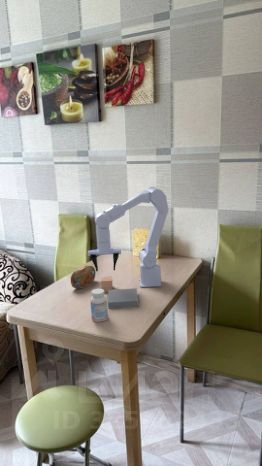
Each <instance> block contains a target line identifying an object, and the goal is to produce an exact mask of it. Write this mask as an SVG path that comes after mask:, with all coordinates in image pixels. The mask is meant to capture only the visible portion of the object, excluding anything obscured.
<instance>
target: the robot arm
mask: <svg viewBox="0 0 262 466" xmlns="http://www.w3.org/2000/svg"><path fill="white" fill-rule="evenodd" d="M143 203H144V204H145V203H146V204H152V205H153V208H154V209H155V212H154V216H153V219H152V222H151V226H150V229H149V231H148V236H147V238H146V242H145V243H144V245H143V246H142V249H141V250H140V251H139V252H138V258H139V260H140V264H139V274H140V275H139V276H140V277H139V278H140V279H139V280H138V281H139V286H140V288H149V287H150V288H151V287H152V288H153V287H154V288H155V287H162V271H161V264H157V255H158V245H159V241H160V238H161V234H162V232H163V229H164V226H165V223H166V219H167V216H168V212H169V206H168V201H167V195H166V194H165V192H164V191H163V190H161V189H160V188H159V189H158V188H157V187H156V186H151V187H148V188H147V189H144V190H141V192H139V193H138V194H136V195H134V196H133V197H131V198H130V199H128V200H127V201H125V202H123V203H113V204H112V206H111V207H110V208H108V209H106V210H105V209H104V210H102V212H100V213H99V212H98V213H97V214H96V215H95V218H94V223H95V224H96V227H95V229H96V231H95V232H96V243H97V244H96V246H97V248H96V249H91V250H88V251H87V257H89V258H90V260H91V261H92V263H93V265H94V266H93V267H94V269H95V272H98V271H99V266H98V256H105V255H107V256H108V255H112V261H113V267H112V268H113V271H116V266H117V263H118V260H119V255H122V249H121V248H112V247H111V245H112V243H111V234H110V233H111V231H110V225H111V223H113V222H115V221H117V220H118V219H120V218H123V216H125V214H126V212H127V211H128V210H130V209H132V208H134V207H136V206H138V205H140V204H143Z"/></svg>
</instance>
